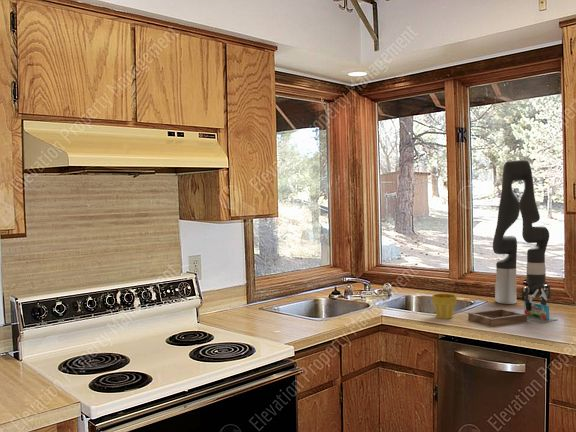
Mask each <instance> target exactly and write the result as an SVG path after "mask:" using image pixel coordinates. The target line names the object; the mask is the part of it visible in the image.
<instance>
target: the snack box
mask: <svg viewBox="0 0 576 432" xmlns="http://www.w3.org/2000/svg"><path fill="white" fill-rule="evenodd" d="M523 306H524V308H523V311H524V313H523V314H527V316H530V317H534V318H538V319H542V320H549V318H550V306H549V304H546V305H543V304H541V303H538V302H533V301H531V306H532V310H531V311H527V310H526V302H525V301H523Z"/></svg>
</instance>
